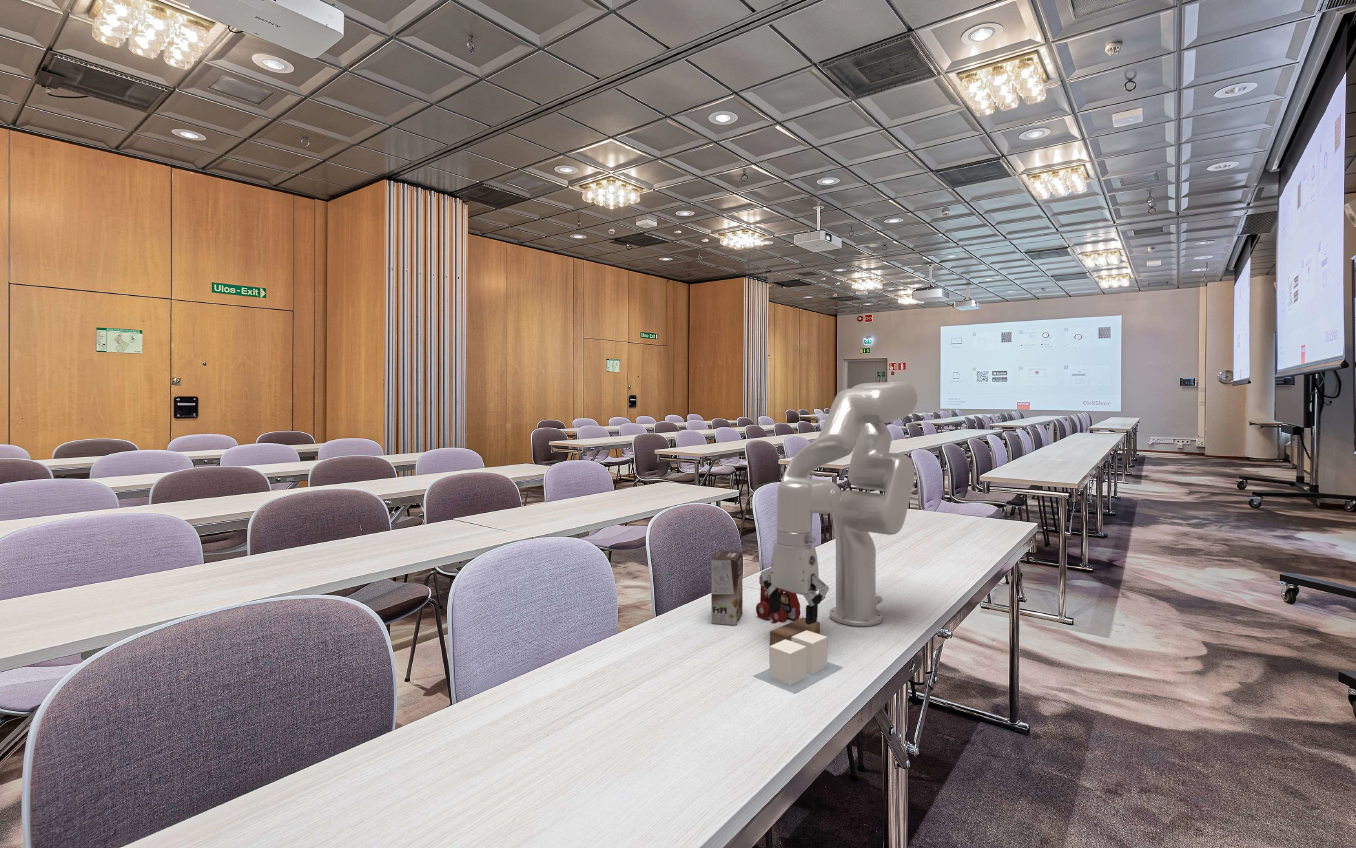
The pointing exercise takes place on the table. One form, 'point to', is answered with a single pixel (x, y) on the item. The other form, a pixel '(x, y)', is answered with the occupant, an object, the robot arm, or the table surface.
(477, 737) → the table surface
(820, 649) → the cream pillar
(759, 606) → the toy fire truck
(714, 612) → the coffee box
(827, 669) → the slate board
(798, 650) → the cream pillar
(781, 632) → the walnut beam
